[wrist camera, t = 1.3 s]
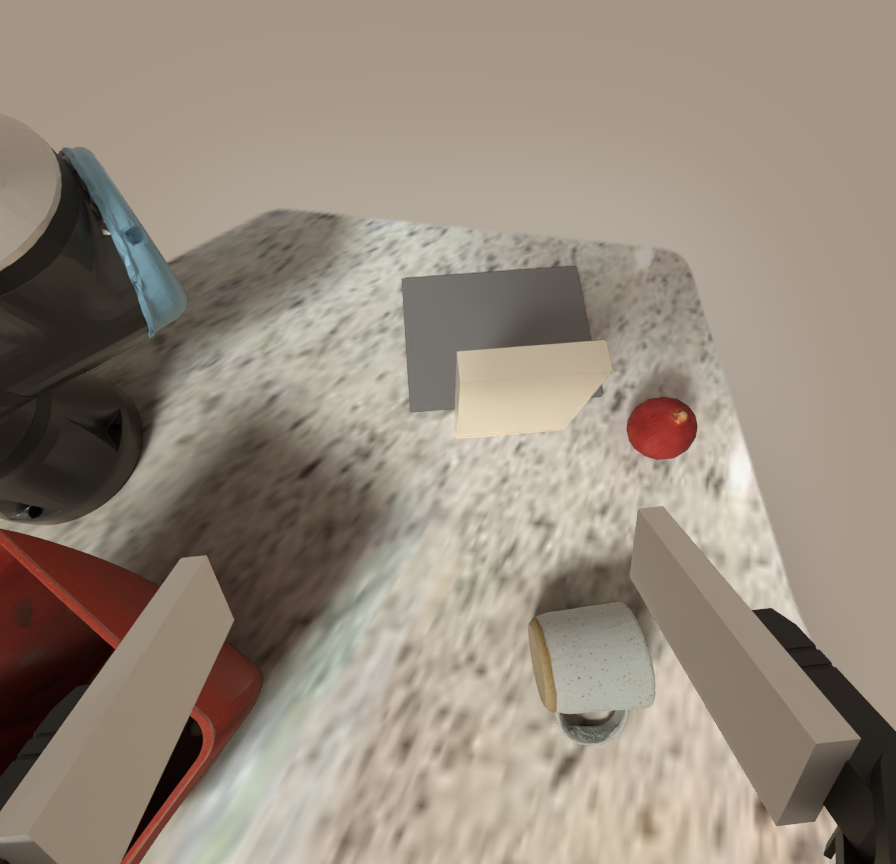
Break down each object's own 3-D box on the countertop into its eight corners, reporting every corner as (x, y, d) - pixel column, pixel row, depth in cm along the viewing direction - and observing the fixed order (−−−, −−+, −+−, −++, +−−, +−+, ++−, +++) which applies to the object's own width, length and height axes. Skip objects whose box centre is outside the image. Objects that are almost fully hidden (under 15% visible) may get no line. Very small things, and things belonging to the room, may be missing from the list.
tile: (456, 438, 44) (460, 383, 31) (454, 413, 45) (456, 348, 32) (563, 430, 45) (612, 370, 31) (559, 405, 45) (605, 336, 32)
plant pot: (-1, 729, 37) (-351, 854, 21) (163, 537, 41) (-17, 517, 25) (160, 891, 33) (-106, 1191, 17) (319, 664, 38) (225, 733, 22)
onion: (634, 402, 45) (671, 368, 38) (683, 434, 44) (731, 407, 37) (604, 444, 44) (637, 418, 36) (654, 478, 43) (698, 459, 35)
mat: (601, 396, 46) (602, 395, 45) (410, 412, 45) (410, 410, 45) (574, 268, 50) (575, 265, 50) (402, 281, 50) (401, 278, 49)
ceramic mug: (519, 610, 39) (535, 622, 32) (607, 597, 40) (644, 605, 32) (542, 745, 36) (566, 792, 29) (637, 729, 37) (685, 772, 29)
